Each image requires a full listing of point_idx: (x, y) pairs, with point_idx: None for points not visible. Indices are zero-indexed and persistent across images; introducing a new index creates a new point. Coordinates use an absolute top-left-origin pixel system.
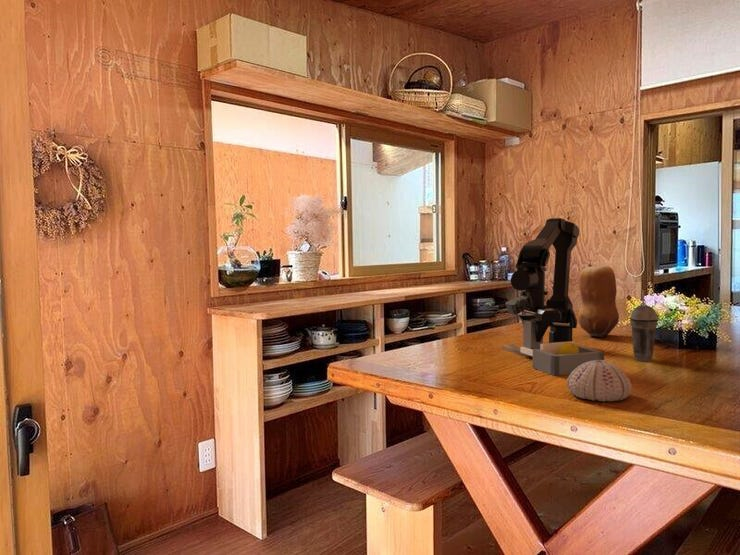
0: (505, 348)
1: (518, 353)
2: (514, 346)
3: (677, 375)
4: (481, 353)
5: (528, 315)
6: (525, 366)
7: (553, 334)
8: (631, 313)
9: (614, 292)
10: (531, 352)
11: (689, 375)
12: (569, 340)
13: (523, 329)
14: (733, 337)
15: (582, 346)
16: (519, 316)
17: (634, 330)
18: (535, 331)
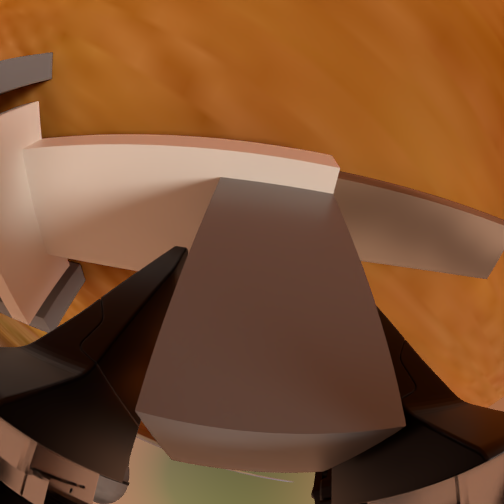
0: (486, 215)
1: (378, 182)
2: (464, 257)
3: (6, 330)
4: (496, 46)
5: (386, 498)
6: (81, 26)
7: None
8: (103, 488)
9: None
10: (170, 142)
11: (10, 340)
12: None
13: (373, 301)
14: (238, 472)
15: (37, 326)
16: (487, 453)
17: None
18: (138, 304)
